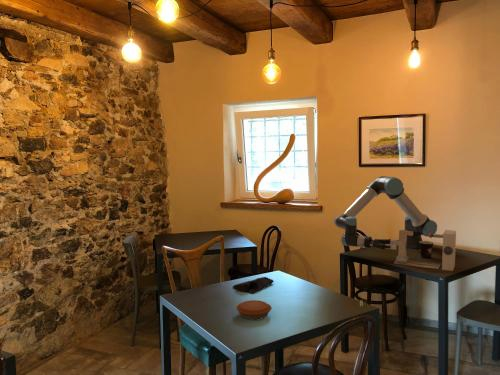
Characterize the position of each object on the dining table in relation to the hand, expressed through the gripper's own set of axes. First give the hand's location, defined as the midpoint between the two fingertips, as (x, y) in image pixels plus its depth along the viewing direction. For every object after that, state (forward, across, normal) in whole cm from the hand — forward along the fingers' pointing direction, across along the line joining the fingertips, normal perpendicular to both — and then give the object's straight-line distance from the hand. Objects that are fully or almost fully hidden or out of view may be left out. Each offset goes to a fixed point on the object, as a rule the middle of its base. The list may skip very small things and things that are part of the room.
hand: (398, 245), depth 277 cm
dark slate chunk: (-56, +87, -12) cm, 104 cm away
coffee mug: (+12, -21, -11) cm, 26 cm away
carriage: (+4, -1, -9) cm, 10 cm away
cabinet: (+29, -1, -11) cm, 31 cm away
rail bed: (+11, -1, -11) cm, 16 cm away
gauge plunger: (+23, -1, +7) cm, 24 cm away
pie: (-37, +122, -11) cm, 128 cm away
